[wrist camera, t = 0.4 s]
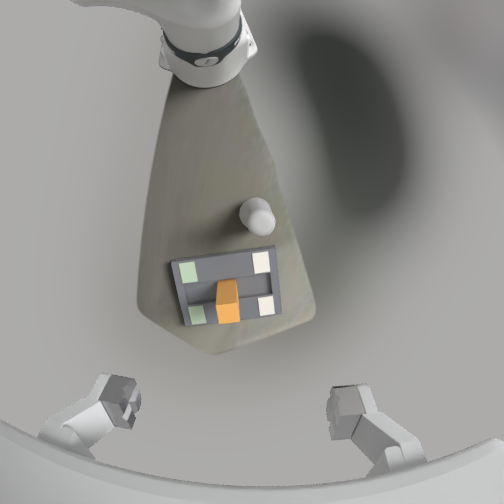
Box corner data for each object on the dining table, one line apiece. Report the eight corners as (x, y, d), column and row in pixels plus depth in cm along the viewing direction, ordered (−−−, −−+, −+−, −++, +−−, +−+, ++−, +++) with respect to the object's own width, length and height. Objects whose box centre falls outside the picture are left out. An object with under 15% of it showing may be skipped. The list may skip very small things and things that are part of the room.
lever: (217, 280, 58) (215, 305, 47) (235, 278, 58) (237, 302, 47) (220, 297, 59) (219, 324, 48) (238, 294, 59) (240, 321, 48)
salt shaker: (250, 232, 57) (255, 250, 44) (232, 208, 55) (233, 219, 43) (275, 215, 56) (288, 228, 44) (258, 190, 55) (267, 196, 42)
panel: (172, 259, 57) (170, 262, 55) (274, 245, 58) (275, 248, 56) (186, 321, 61) (185, 327, 59) (280, 309, 62) (282, 314, 60)
